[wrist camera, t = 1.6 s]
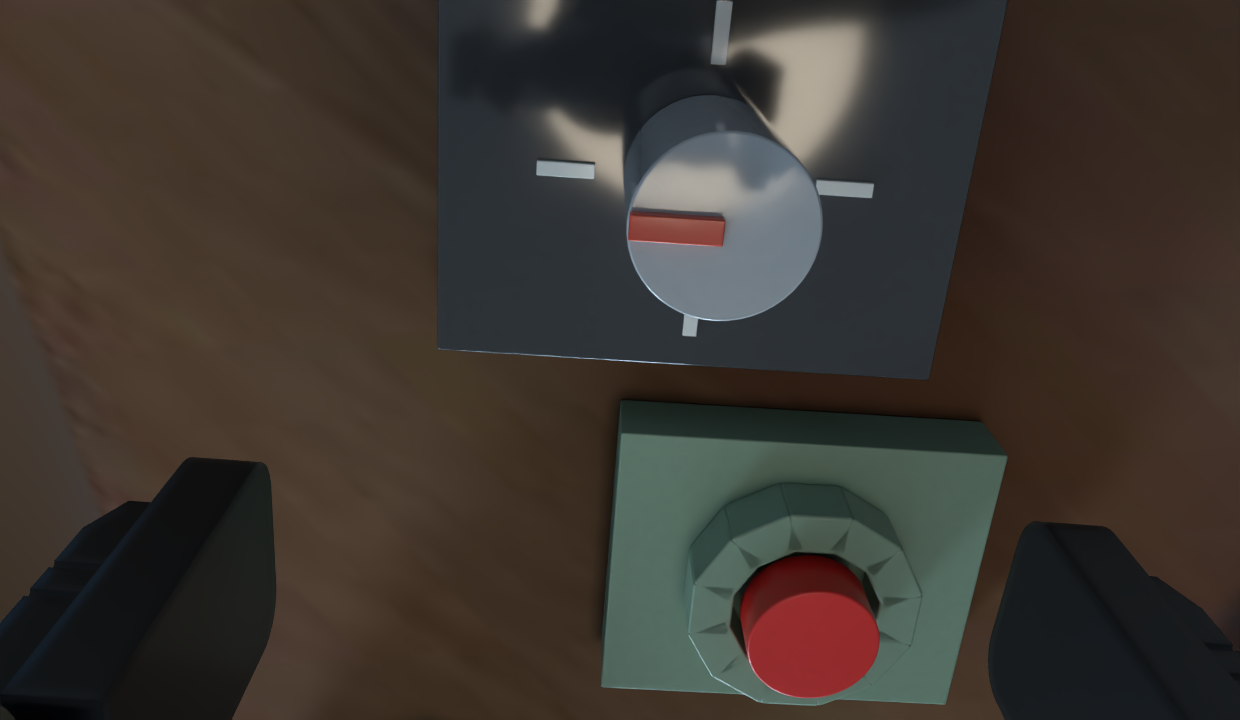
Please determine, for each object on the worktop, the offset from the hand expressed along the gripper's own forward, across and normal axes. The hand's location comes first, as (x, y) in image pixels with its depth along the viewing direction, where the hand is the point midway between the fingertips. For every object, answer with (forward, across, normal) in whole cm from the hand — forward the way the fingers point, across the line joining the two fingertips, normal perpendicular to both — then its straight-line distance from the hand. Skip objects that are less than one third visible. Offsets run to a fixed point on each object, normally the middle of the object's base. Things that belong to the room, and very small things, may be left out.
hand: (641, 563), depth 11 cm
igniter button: (+15, -6, +11) cm, 20 cm away
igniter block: (+18, -6, +11) cm, 22 cm away
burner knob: (+15, -2, -1) cm, 15 cm away
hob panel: (+18, -2, -1) cm, 19 cm away
